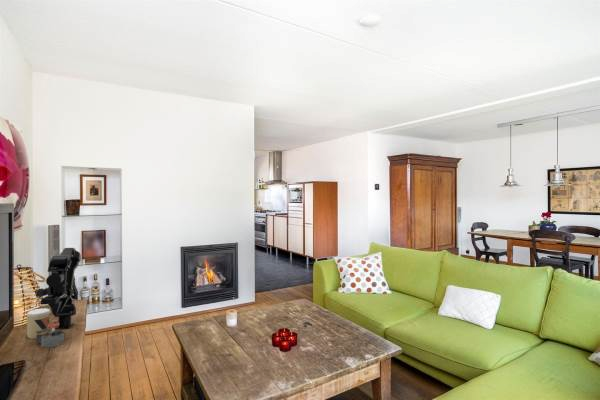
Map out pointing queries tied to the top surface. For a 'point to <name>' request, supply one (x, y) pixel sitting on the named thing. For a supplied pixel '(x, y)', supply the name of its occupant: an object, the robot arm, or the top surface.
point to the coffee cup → (37, 322)
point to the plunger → (53, 326)
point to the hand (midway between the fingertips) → (57, 313)
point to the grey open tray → (51, 339)
